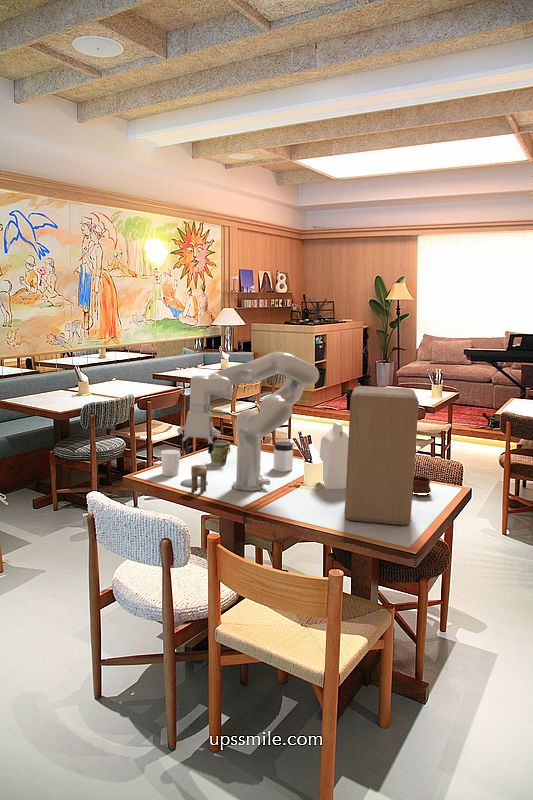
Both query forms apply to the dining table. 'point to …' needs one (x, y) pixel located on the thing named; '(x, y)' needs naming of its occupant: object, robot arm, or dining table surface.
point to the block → (381, 454)
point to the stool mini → (198, 472)
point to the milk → (334, 457)
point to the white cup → (170, 462)
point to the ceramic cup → (220, 452)
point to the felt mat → (189, 483)
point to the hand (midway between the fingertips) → (198, 451)
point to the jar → (283, 456)
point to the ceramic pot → (421, 486)
